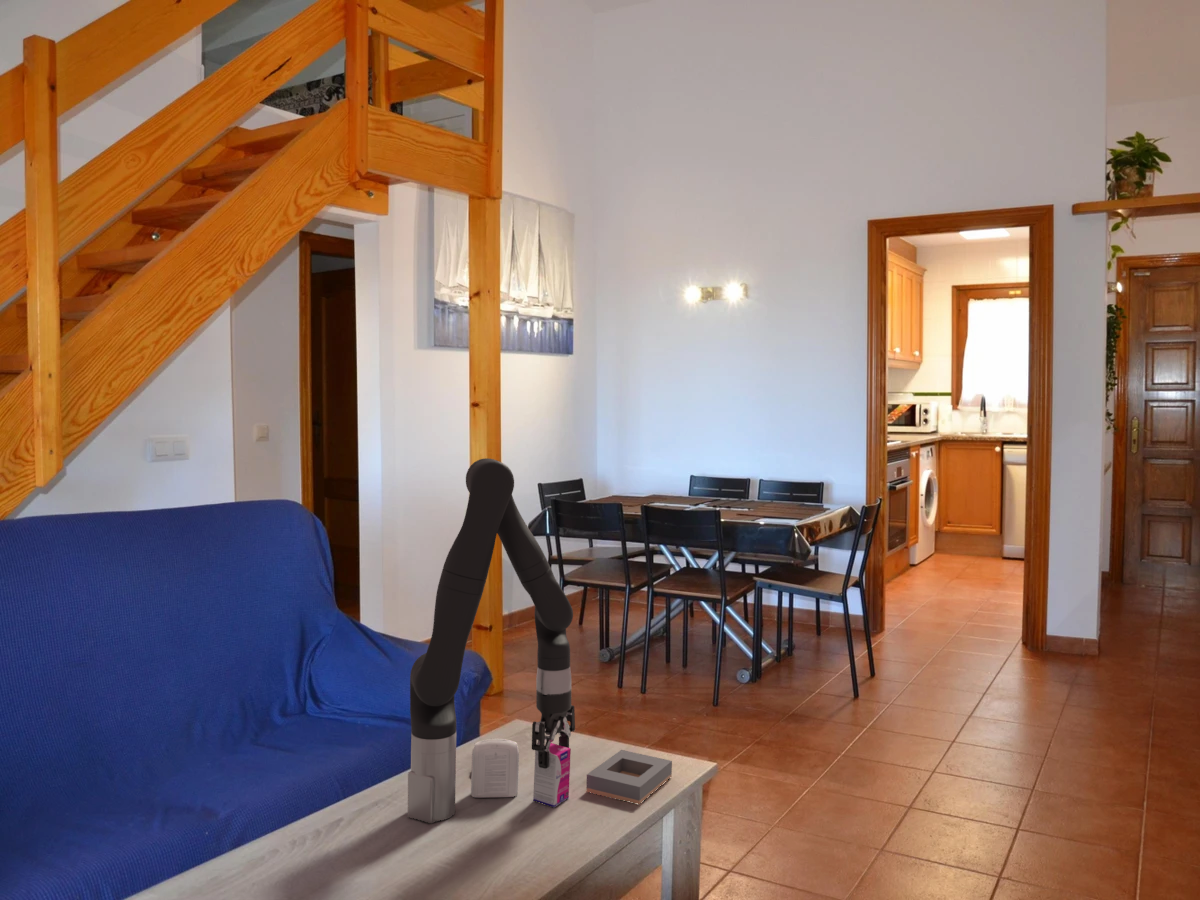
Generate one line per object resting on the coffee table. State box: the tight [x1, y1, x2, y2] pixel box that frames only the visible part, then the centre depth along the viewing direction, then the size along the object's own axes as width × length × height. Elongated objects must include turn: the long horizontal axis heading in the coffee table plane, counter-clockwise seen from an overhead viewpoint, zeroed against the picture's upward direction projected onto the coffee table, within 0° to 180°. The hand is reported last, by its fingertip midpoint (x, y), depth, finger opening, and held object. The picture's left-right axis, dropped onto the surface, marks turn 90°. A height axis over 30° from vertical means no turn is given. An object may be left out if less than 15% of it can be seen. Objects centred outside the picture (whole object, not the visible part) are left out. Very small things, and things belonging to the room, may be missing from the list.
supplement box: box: [532, 742, 572, 808], centre depth 210 cm, size 6×6×12 cm
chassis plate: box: [585, 749, 673, 805], centre depth 219 cm, size 17×13×4 cm
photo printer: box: [470, 738, 520, 798], centre depth 212 cm, size 10×4×12 cm, turn 98°
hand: (553, 760), depth 210 cm, fingers open, 8 cm apart
